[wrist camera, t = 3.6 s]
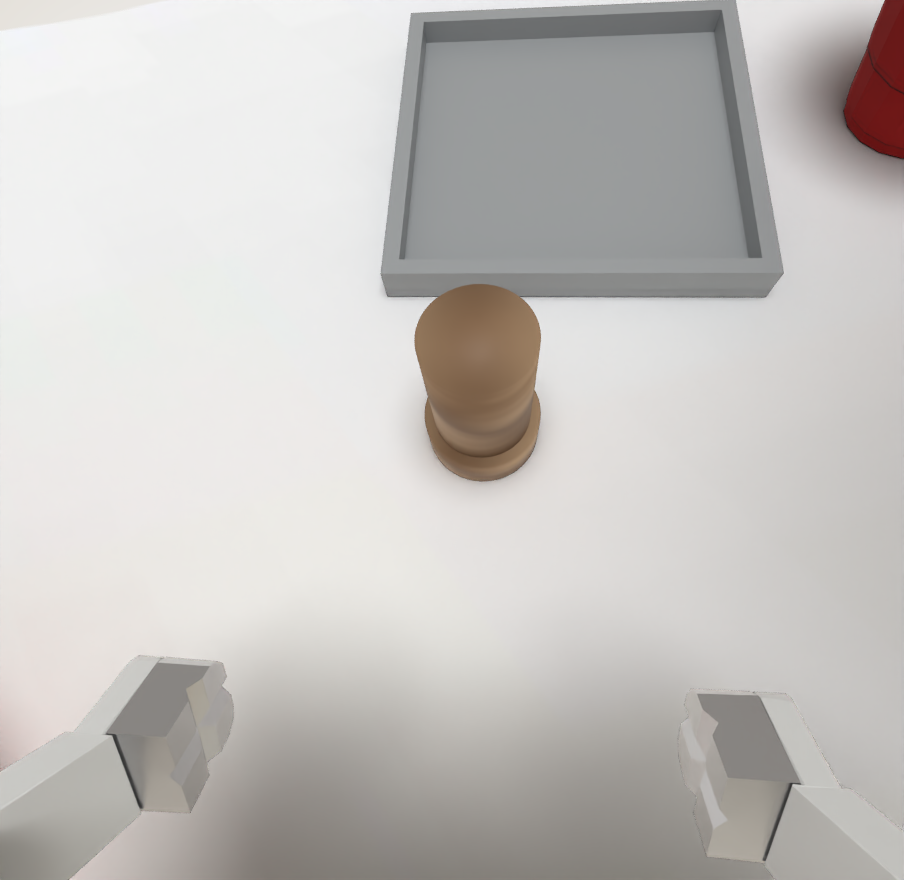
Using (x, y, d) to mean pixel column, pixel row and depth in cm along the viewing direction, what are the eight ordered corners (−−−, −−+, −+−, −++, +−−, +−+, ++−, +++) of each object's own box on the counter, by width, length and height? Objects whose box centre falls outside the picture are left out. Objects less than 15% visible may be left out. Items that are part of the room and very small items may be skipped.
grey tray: (723, 32, 33) (735, -1, 31) (765, 296, 27) (783, 272, 25) (415, 44, 35) (410, 13, 33) (387, 296, 28) (380, 273, 27)
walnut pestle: (537, 381, 26) (553, 273, 19) (537, 482, 25) (554, 407, 17) (433, 380, 27) (408, 273, 19) (426, 479, 25) (395, 404, 18)
